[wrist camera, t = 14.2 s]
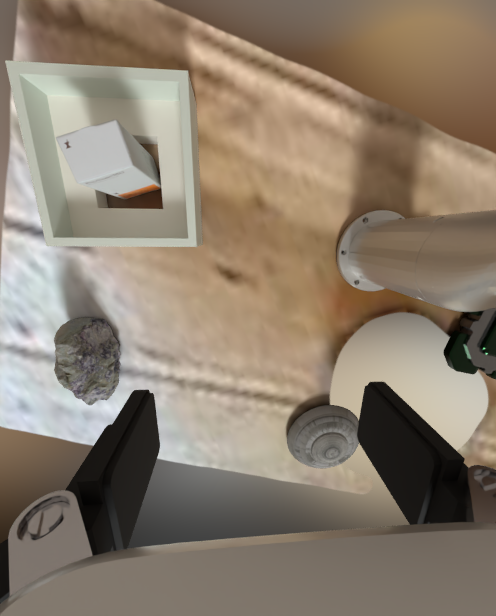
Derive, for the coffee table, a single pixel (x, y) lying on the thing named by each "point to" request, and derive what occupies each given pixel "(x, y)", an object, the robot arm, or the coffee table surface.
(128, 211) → the peg box
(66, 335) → the mineral rock
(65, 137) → the skincare box
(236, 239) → the coffee table surface
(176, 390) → the coffee table surface
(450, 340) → the dark piece
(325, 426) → the flying saucer
